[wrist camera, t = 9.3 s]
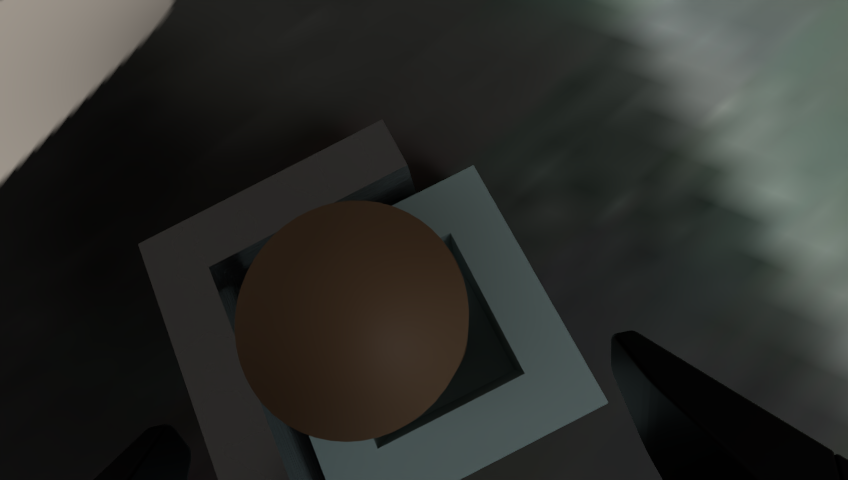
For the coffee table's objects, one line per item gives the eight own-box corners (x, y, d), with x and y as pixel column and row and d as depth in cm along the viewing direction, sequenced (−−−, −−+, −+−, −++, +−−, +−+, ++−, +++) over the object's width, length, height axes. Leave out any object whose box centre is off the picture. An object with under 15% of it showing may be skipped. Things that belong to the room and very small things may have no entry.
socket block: (576, 391, 19) (608, 402, 15) (374, 494, 19) (347, 537, 15) (471, 202, 22) (473, 165, 17) (292, 292, 21) (248, 276, 17)
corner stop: (600, 543, 17) (667, 638, 12) (380, 665, 17) (335, 826, 11) (404, 181, 22) (382, 119, 16) (226, 273, 21) (137, 244, 16)
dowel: (484, 337, 19) (520, 308, 7) (426, 401, 19) (345, 500, 6) (424, 280, 20) (352, 157, 7) (367, 340, 20) (189, 318, 7)
